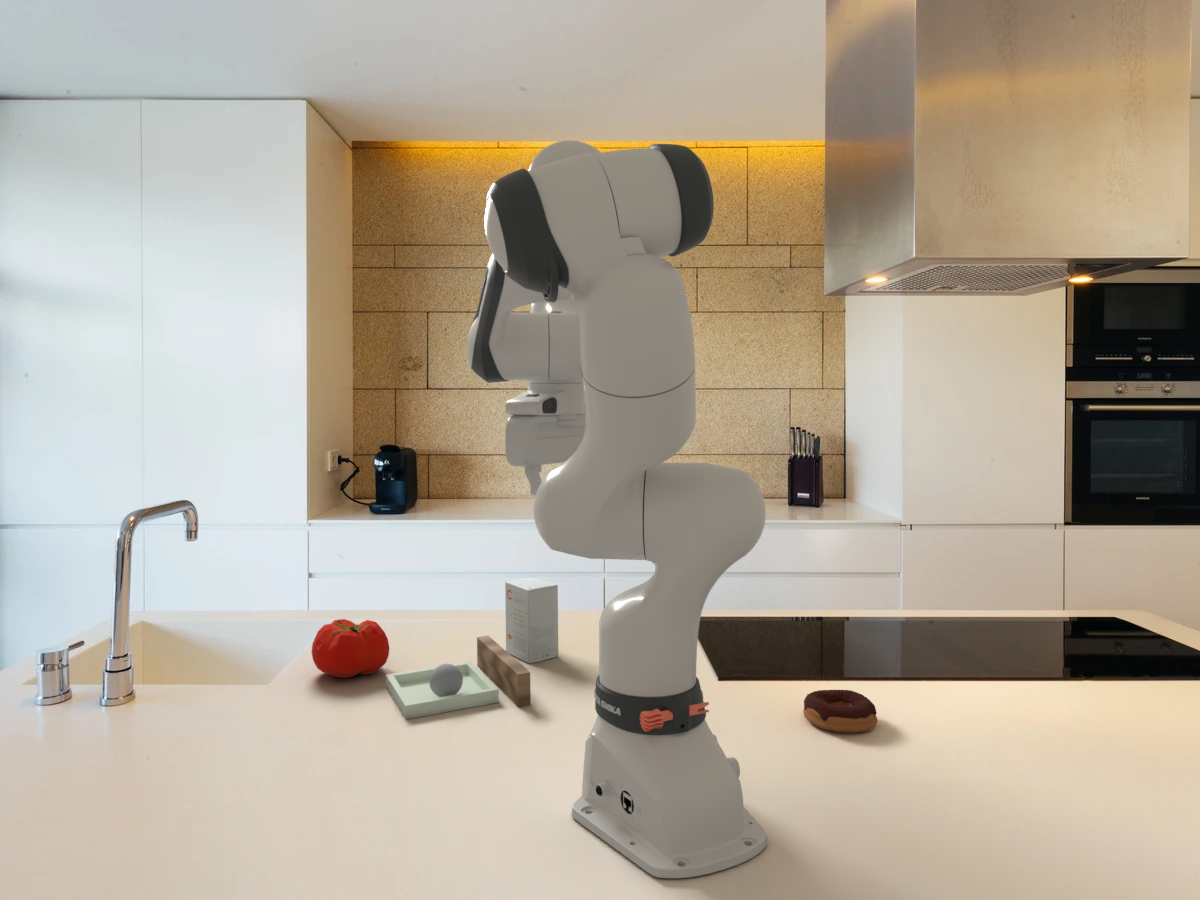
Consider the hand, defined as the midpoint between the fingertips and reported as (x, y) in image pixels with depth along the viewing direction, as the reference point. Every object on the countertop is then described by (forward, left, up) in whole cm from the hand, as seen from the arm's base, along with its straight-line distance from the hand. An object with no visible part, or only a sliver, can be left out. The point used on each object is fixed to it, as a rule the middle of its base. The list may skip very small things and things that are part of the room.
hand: (556, 491), depth 125 cm
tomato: (+21, +28, -32) cm, 48 cm away
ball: (+3, +17, -28) cm, 33 cm away
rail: (+5, +7, -31) cm, 33 cm away
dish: (+5, +17, -31) cm, 36 cm away
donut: (-30, -31, -32) cm, 53 cm away
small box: (+17, -2, -32) cm, 36 cm away
